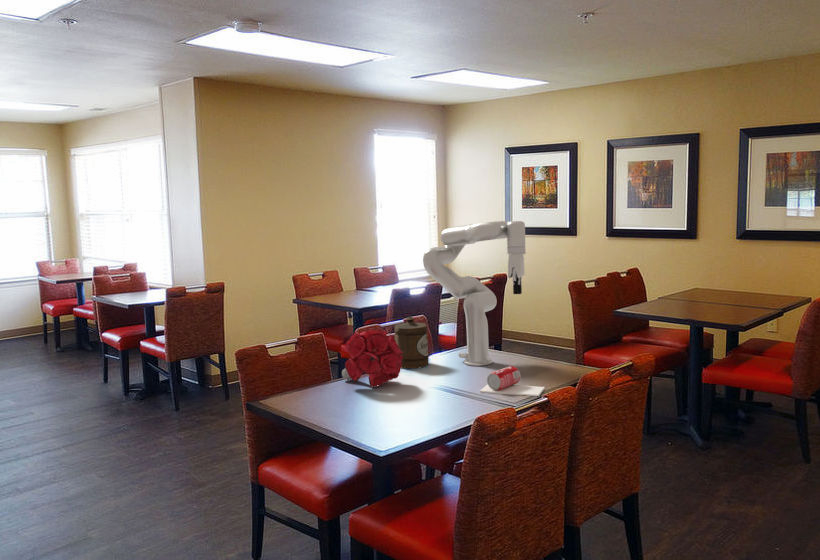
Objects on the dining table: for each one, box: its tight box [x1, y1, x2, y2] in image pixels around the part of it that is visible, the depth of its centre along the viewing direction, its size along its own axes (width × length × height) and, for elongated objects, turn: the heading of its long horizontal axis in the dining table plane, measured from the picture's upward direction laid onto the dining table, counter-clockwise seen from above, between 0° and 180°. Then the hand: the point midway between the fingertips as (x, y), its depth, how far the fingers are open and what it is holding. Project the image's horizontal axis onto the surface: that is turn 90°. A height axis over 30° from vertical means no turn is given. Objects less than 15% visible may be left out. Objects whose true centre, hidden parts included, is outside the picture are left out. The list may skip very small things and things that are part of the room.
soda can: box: [486, 365, 521, 390], centre depth 251 cm, size 7×7×13 cm
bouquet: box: [341, 329, 403, 388], centre depth 266 cm, size 22×24×30 cm
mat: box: [479, 383, 545, 397], centre depth 248 cm, size 22×11×1 cm, turn 67°
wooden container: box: [394, 316, 429, 369], centre depth 296 cm, size 15×15×22 cm
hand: (517, 293), depth 279 cm, fingers closed
